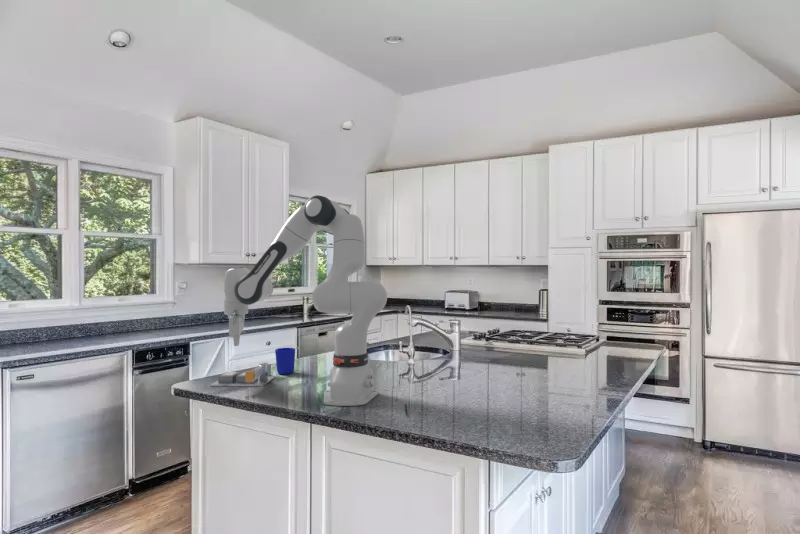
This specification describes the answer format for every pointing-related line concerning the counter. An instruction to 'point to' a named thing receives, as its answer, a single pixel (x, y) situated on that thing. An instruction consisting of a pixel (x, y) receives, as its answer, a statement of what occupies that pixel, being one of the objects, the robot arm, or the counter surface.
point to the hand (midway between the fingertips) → (236, 345)
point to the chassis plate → (256, 383)
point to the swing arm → (256, 372)
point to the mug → (285, 360)
